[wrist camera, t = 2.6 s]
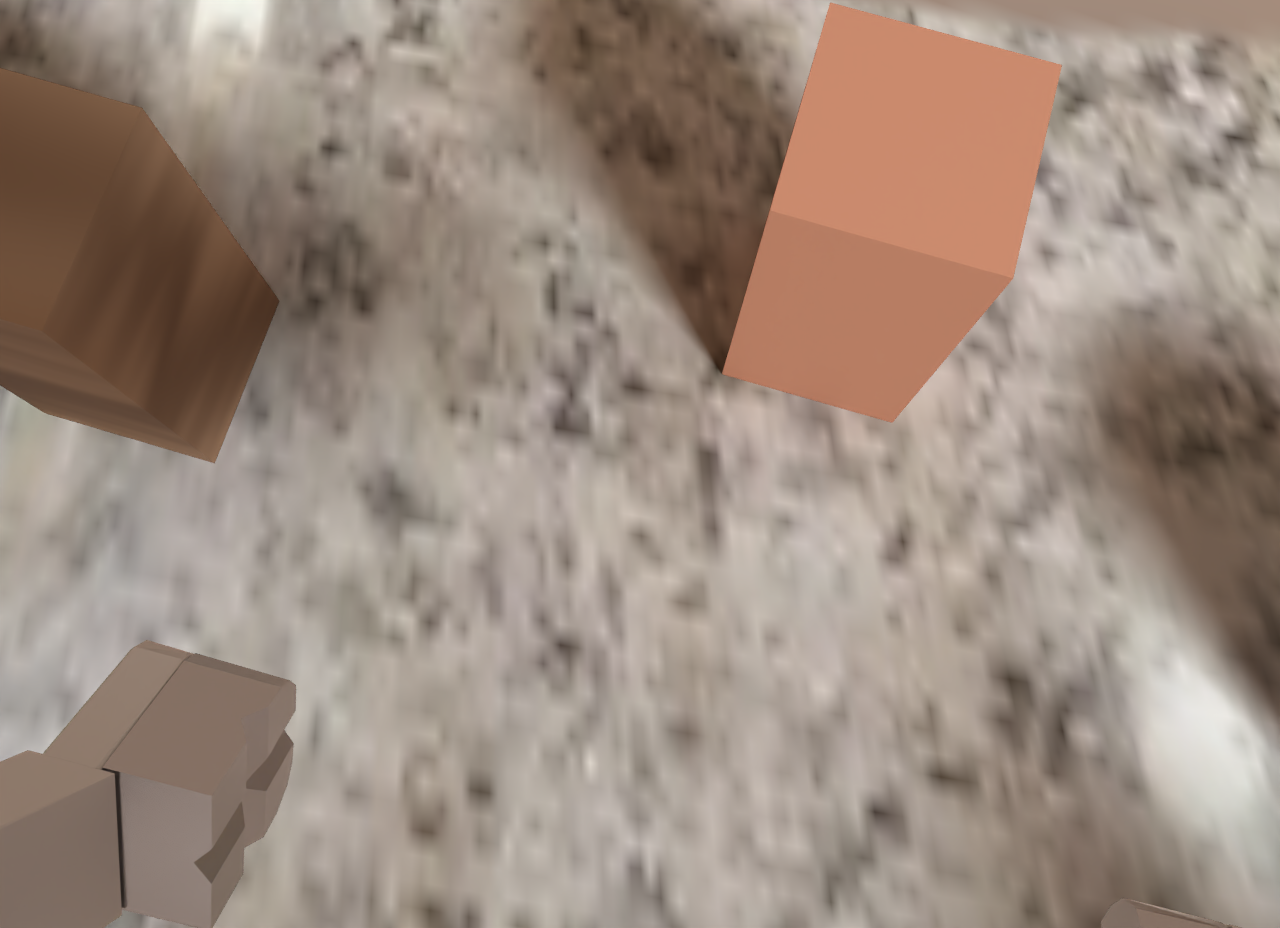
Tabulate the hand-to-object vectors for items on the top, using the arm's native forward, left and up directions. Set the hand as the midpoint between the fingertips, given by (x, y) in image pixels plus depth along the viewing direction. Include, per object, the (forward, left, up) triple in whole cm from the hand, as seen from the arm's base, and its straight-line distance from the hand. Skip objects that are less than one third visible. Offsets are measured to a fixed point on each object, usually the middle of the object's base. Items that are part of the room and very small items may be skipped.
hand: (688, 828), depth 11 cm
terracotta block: (+11, +6, -16) cm, 20 cm away
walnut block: (-3, +15, -16) cm, 22 cm away
